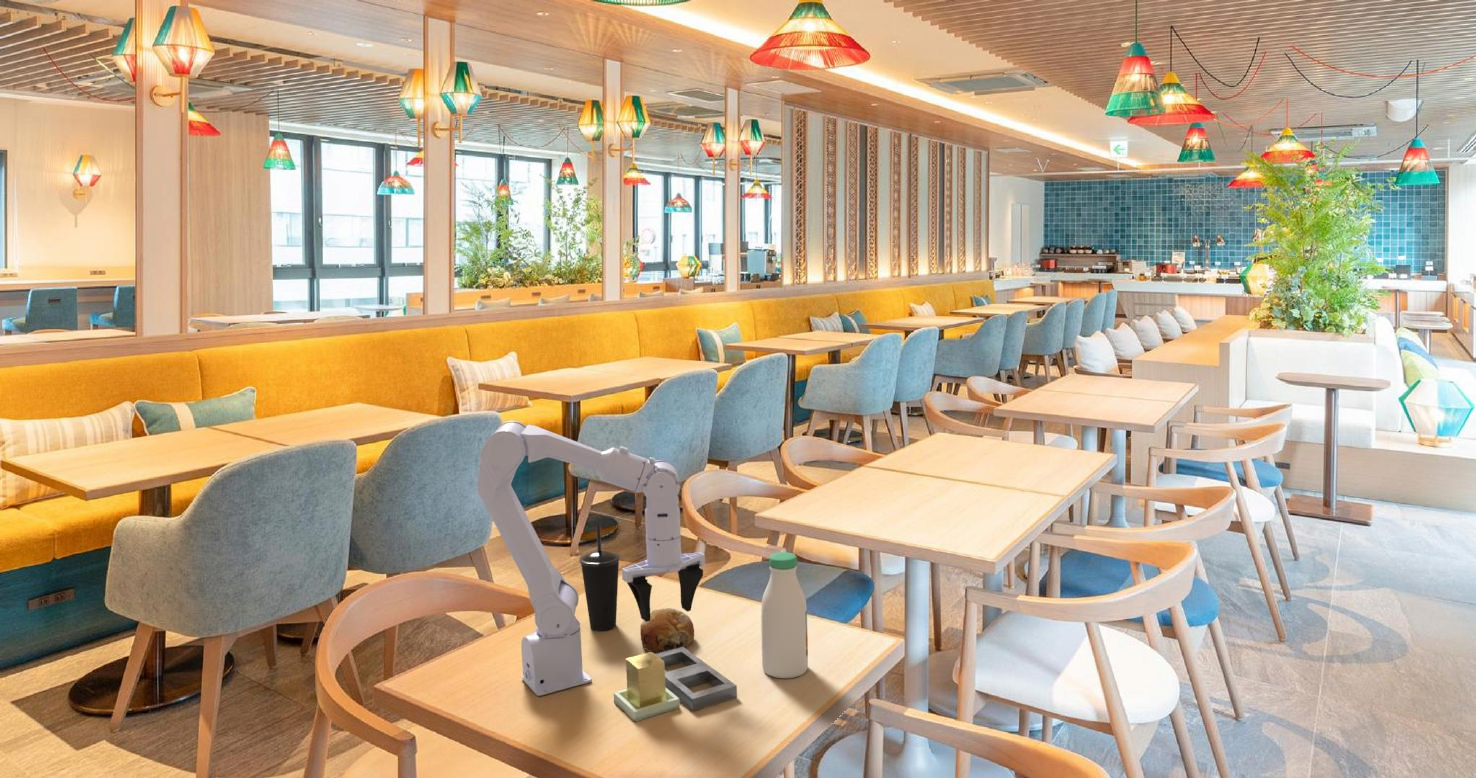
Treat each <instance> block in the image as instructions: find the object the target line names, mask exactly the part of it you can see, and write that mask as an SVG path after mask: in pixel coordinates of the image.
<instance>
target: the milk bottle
mask: <svg viewBox="0 0 1476 778" xmlns="http://www.w3.org/2000/svg"><path fill="white" fill-rule="evenodd" d="M797 557H798V556H797V555H796V554H794V553H791V552H787V551H782V552H780V551H779V552H774V553H772V554H770V555H769V563H768V564H769V570H770V577H769V580H768V583H767V584H766V585H767V586H766V588H765V590H764V593H763V595H762V599H761V606H760V607H761V608H760V609H761V616H760V618H761V624H760V625H761V626H760V627H761V628H760V631H761V666H762V670H763V672H764V673H765V674H766V675H768V676H770V677H773V678H776V679H793V678H797V677H800V676H802V675H804V674H805V673H806V672H807V670H808V666H809V659H808V658H809V652H808V651H809V649H808V647H809V646H808V645H809V644H808V643H809V642H808V640H809V639H808V636H809V635H808V611H807V610H808V608H807V606H808V605H807V601H806V595H805V593H804V591H803V588H802V586H801V585H800V582H799V579H798V576H797V569H798V567H797V566H798V558H797Z"/></svg>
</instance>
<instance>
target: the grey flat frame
mask: <svg viewBox="0 0 1476 778" xmlns="http://www.w3.org/2000/svg"><path fill="white" fill-rule="evenodd" d="M654 654H655V655H657V656H658V657H659V658H660V659H662V660H663V661H664V662H665V668H667V666H668V667H670V666H674V665H679V664H681V663H682V664H683V665H685V666H684V667H683V666H682V667H681V668H677V669H674V670H673V669H672V670H670V671H669V670H668V671H667V670H666V669H665V687H666V688H667V689H668V690H670V691H671V692H672V693H673V694H674V695H676V696H677V697H678V698H679V699H680V702H681V703H682V704H683V705H685V706H686V707H687V708H688V709H690V710H691V711H692V712H695V711H699V710H701V709H704V708H707V707H711V706H714V705H717V704H720V703H724V702H727V701H731V700H734V699H736V698H738V687H737V686H738V685H737V684H735V683H734V682H732V680H729V679H728V678H727V677H726V676H725V675H723V674H722V673H720V672H718V671H717V670H716V669H714V668H713V667H712V666H710V665H709V664H708V663H706V662H704V661H703V660H702V659H700V657H698V656H696V655H695V654H694V653H693V652H691V651H690V650H688V649H687V648H684V647H680V648H676V649H672V650H669V651H665V652H661V653H654ZM705 683H708V684H710V685H711V686H712V687H710V688H709V687H708V688H706V689H703V690H699V691H696V692H693V691H692V690H691V689H689V688H692V687H696V686H700V685H702V684H705Z"/></svg>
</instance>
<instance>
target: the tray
mask: <svg viewBox="0 0 1476 778" xmlns="http://www.w3.org/2000/svg"><path fill="white" fill-rule="evenodd" d="M665 688H666V687H665ZM613 702H614V703H615V704H616V705H617V706H618V707H619V708H620V709H621V710H622V711H623V712H624V713H626V714H627V715H628V717H630V718H631V719H632V720H633V721H634V722H638V721H641V720H644V719H648V718H650V717H655V716H657V715H660V714H663V713H668V712H670V711H674V710H677V709H680V708H681V707H680V705H681V704H680V702H681V701H680V699H679V698H678V697H677V696H676V695H674V694H673V693H672V692H671V691H670V690H668V689H667V688H666V701H663V702H660V703H657V704H653V705H650V706H647V707H643V708H640V709H636V708H635V707H634V706H633V705H632V704H631V703H630V702H629V701H628V696H627V688H624V689H621V690H618V691H615V692H613Z"/></svg>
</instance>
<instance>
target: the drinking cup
mask: <svg viewBox="0 0 1476 778" xmlns="http://www.w3.org/2000/svg"><path fill="white" fill-rule="evenodd" d="M601 537H602V536H601V524H599V523H597V524H596V542H597V543H596V544H597V549H596V550H592V551H589V552H586V553H584V554H582V555H581V556H580V557H579V559H578V561H579V564H580V565H581V566H580V567H581V572H582V578H583V579H582V580H583V586H584V593H585V600H586V605H587V611H588V621H589V626H590V627H589V628H590V629H591V630H593V631H596V632H605V631H610V630H613V629H615V628H616V626H617V609H618V608H617V607H618V587H619V568H620V566H619V564H620V560H621V555H620V554H619V553H618V552H615V551H612V550H611V551H610V550H608V549H602V539H601Z"/></svg>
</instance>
